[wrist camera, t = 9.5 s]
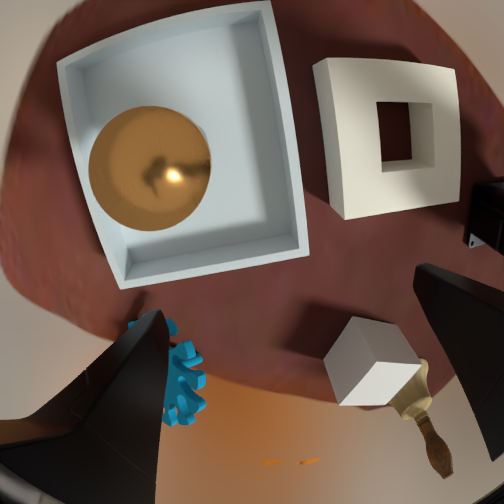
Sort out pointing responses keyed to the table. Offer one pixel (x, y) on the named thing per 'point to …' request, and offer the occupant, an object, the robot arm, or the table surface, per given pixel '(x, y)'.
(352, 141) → the white square hole block
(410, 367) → the white cube
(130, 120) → the lock pin
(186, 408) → the gear
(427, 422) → the hand bell
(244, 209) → the parts tray
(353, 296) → the table surface
